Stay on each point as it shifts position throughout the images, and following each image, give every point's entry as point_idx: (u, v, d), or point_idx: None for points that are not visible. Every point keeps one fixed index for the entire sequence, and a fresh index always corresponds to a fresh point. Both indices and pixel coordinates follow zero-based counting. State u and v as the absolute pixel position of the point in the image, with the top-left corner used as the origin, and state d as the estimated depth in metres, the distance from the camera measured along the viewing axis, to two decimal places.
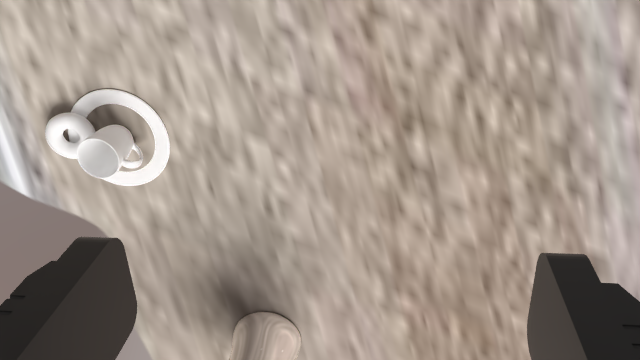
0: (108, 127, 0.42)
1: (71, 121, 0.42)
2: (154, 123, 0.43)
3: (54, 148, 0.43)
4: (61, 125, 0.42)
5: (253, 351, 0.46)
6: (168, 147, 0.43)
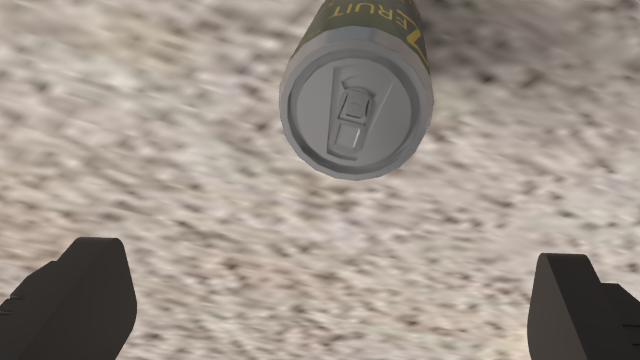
0: None
1: None
2: None
3: None
4: None
5: None
6: None
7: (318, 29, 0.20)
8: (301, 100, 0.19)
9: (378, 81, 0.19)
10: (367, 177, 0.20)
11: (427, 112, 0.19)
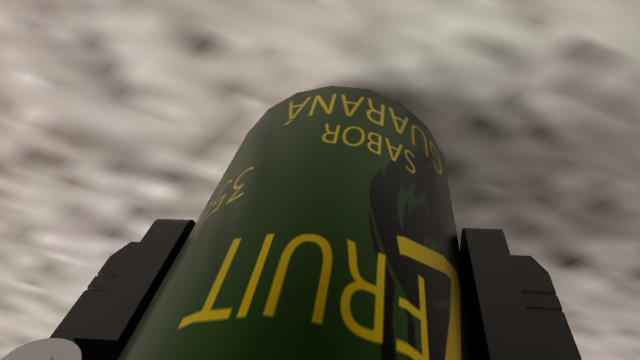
0: None
1: None
2: None
3: None
4: None
5: None
6: None
7: None
8: None
9: None
10: None
11: None
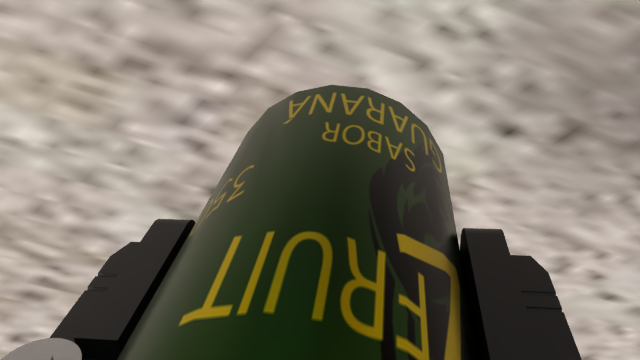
0: None
1: None
2: None
3: None
4: None
5: None
6: None
7: None
8: None
9: None
10: None
11: None
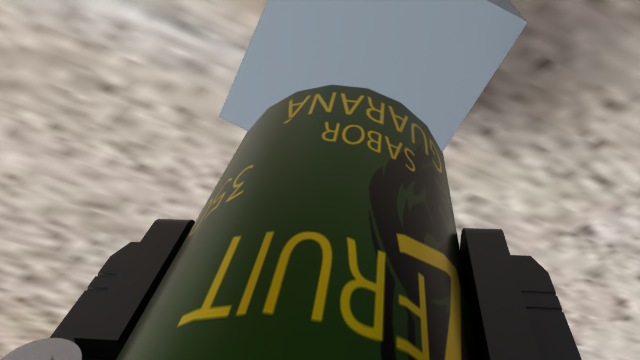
0: None
1: None
2: None
3: None
4: None
5: None
6: None
7: None
8: None
9: None
10: None
11: None
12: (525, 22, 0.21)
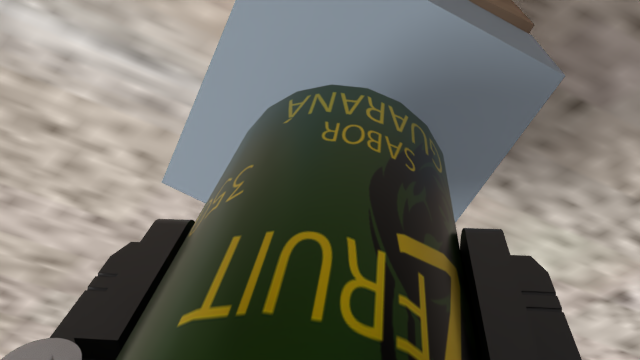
0: None
1: None
2: None
3: None
4: None
5: None
6: None
7: None
8: None
9: None
10: None
11: None
12: (562, 76, 0.16)
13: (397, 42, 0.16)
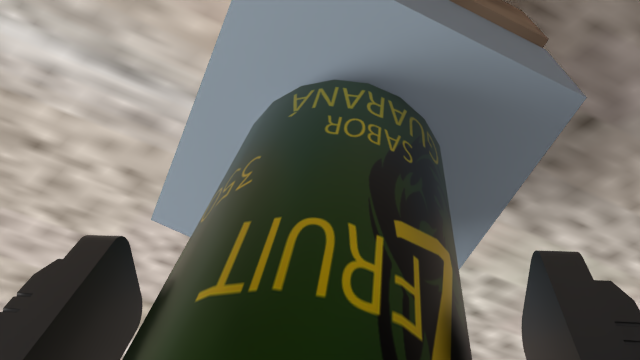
0: None
1: None
2: None
3: None
4: None
5: None
6: None
7: None
8: None
9: None
10: None
11: None
12: (583, 97, 0.14)
13: (401, 66, 0.15)
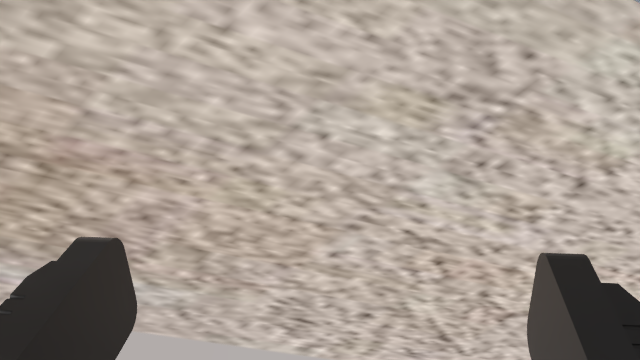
0: None
1: None
2: None
3: None
4: None
5: None
6: None
7: None
8: None
9: None
10: None
11: None
12: None
13: None
